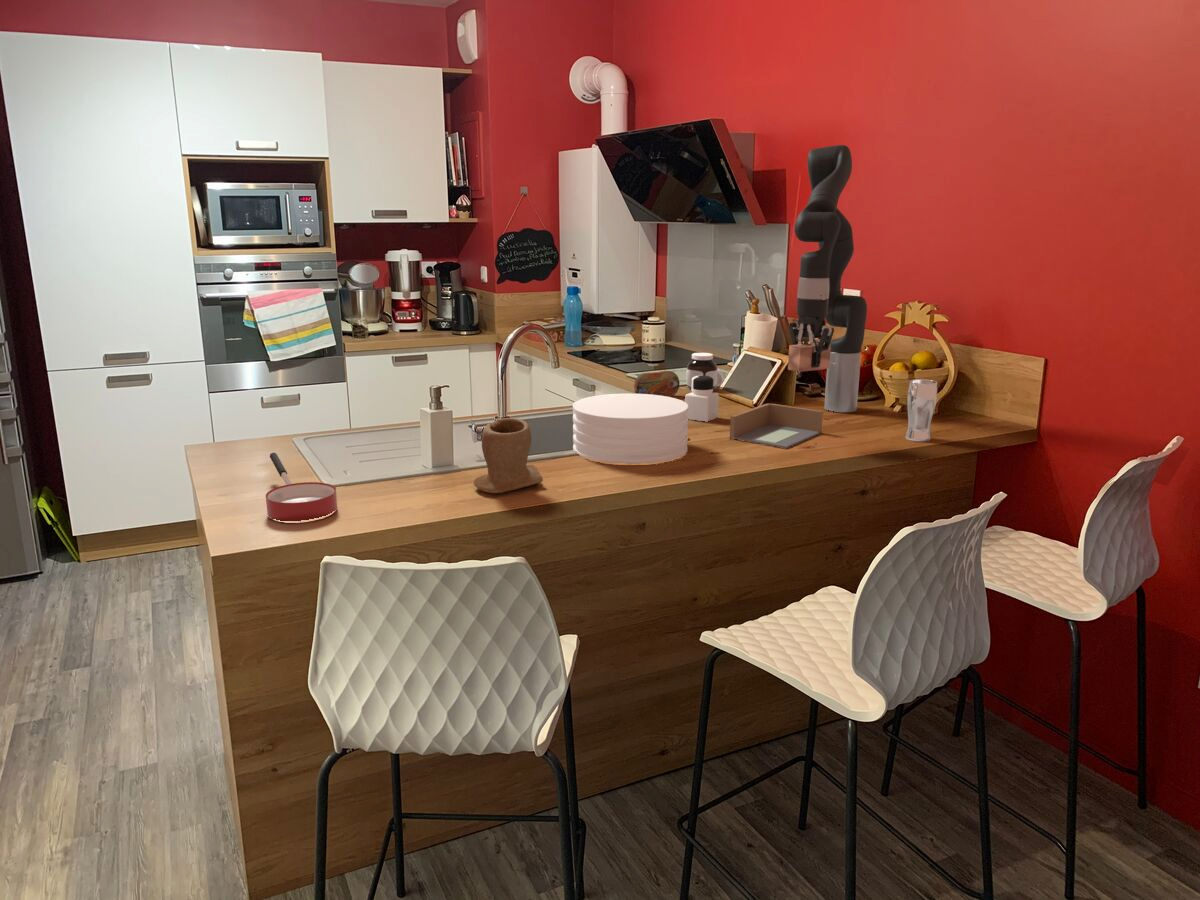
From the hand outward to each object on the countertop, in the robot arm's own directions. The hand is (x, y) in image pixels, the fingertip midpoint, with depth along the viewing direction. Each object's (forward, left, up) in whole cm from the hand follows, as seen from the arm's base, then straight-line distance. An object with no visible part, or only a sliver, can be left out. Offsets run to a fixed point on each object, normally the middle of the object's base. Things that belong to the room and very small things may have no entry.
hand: (808, 365), depth 224 cm
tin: (-20, -60, -20) cm, 66 cm away
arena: (0, -8, -19) cm, 21 cm away
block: (0, 0, -1) cm, 1 cm away
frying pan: (+109, -61, -20) cm, 127 cm away
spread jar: (-42, -56, -20) cm, 73 cm away
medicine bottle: (-5, -34, -20) cm, 39 cm away
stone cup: (+75, -31, -20) cm, 84 cm away
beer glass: (-20, +22, -20) cm, 36 cm away
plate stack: (+35, -30, -20) cm, 50 cm away
